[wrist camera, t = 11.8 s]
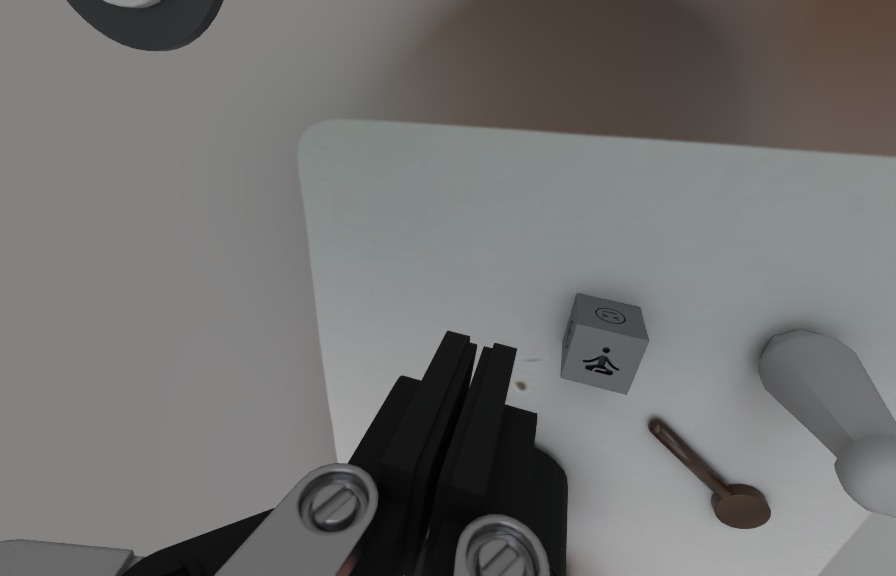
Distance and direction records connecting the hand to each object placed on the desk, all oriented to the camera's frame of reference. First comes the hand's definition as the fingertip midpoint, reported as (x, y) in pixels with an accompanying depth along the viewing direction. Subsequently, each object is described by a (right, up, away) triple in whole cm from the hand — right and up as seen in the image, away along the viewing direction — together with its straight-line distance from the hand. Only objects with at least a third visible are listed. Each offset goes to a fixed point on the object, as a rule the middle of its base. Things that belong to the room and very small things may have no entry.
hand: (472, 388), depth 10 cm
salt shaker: (+26, -2, +23) cm, 34 cm away
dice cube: (+12, -1, +26) cm, 29 cm away
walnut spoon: (+23, -14, +29) cm, 40 cm away
